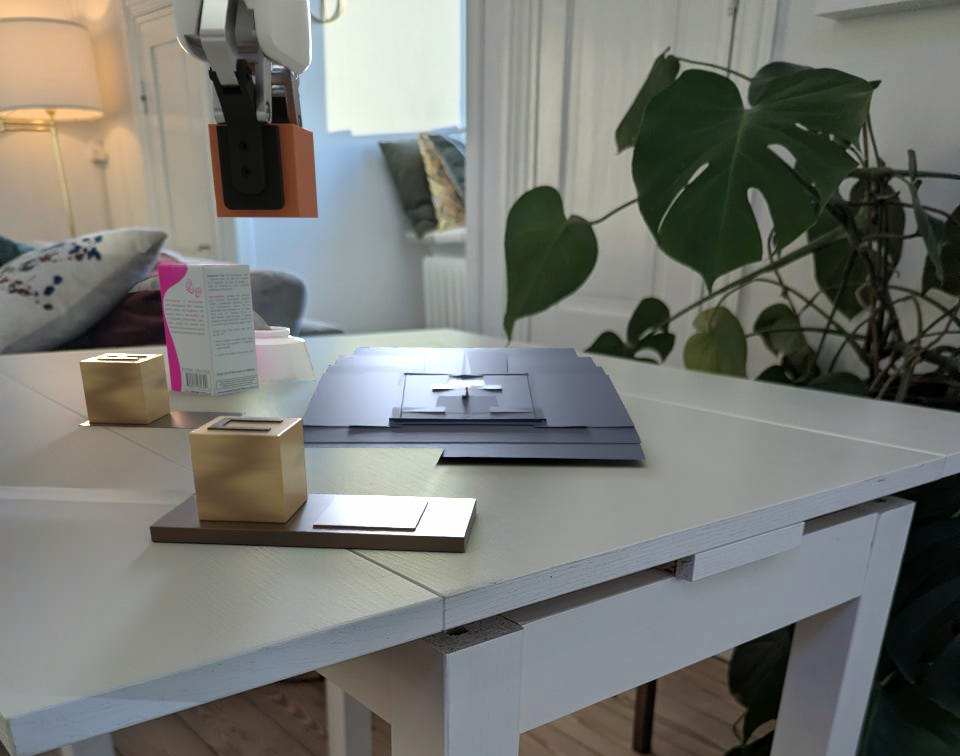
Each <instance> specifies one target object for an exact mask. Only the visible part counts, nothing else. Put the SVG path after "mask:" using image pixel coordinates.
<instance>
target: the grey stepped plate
mask: <svg viewBox="0 0 960 756" xmlns="http://www.w3.org/2000/svg"><path fill="white" fill-rule="evenodd" d="M302 422H303V436H304V449H305V448H307V449H308V448H309V449H310V448H311V449H312V448H313V449H314V448H315V449H317V448H318V449H324V448H325V449H443V450H442V452H441V454H440V456H439V457H440V458H466V457H467V458H469V457H470V458H519V459H520V458H522V459H523V458H527V459H529V458H530V459H576V460H577V459H580V460H581V459H584V460H585V459H586V460H587V459H588V460H634V461H635V460H637V461H639V460H640V461H641V460H642V461H643V460H644V461H645V460H647V458H646V455H645V453H644V450H643V447H642V445H641V444H642V440H641V438H640V436H639V434H638V431H637V429H636V425H635V423H634V422H633V420H632V417H631V415H630V414H629V411H628V410H627V408H626V406H625V404H624V402H623V400H622V399H621V396H620V395H619V393H618V391H617V389H616V387H615V385H614V383H613V381H612V380H611V378H610V376H609V374H607V373H606V372H605V370H604V368H603V366H602V365H601V366H600V365H599V366H597V364H596V363H595V361H594V359H593V358H592V357H591V356H578V354H577V352H576V350H575V348H574V347H404V346H403V347H397V346H394V347H393V346H390V347H389V346H387V347H386V346H355V348H354V351H353V353H352V355H338V357H337V358H336V361H335V363H334V364H329V365H328V366H327V368H326V369H325V372H324V373H322V376H321V378H320V379H319V382H318V384H317V386H316V388H315V390H314V393H313V395H312V397H311V399H310V401H309V404H308V406H307V408H306V410H305V413H304V415H303V417H302Z"/></svg>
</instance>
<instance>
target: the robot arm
mask: <svg viewBox="0 0 960 756" xmlns="http://www.w3.org/2000/svg"><path fill="white" fill-rule="evenodd" d="M171 2H172V3H171V4H172V15H173V24H174V32H175V36H176V39H177V42H178V43H179V46H181V48H182V49H183V50H184V51H185V52H186V53H187V54H188V55H189V56H191V57H192V58H194V60H195V59H196V60H197V61H198V62H201V63H203V64H205V65H208V67H209V68H208V70H207V71H208V77H209V80H210V81H211V85H212V86H211V87H212V110H213V117H214V120H215V124H218V125H227V126H216V130H217V140H218V150H219V160H220V170H221V180H222V190H223V200H224V205H225V206H226V207H227V208H228V209H230V210H280V209H282V208H283V207H284V204H285V200H284V186H283V173H282V160H281V147H280V133H279V126H277V125H270V124H271V123H286V124H294V125H297V126H299V127H302V128H304V125H303V116H302V108H301V100H300V98H301V96H300V91H299V90H300V89H299V88H300V75H302V74H303V73H304V72H306V70H308V68H309V67H310V65H311V62H312V28H311V24H312V23H311V7H310V6H311V5H310V0H171Z"/></svg>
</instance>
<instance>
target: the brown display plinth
mask: <svg viewBox="0 0 960 756" xmlns="http://www.w3.org/2000/svg"><path fill="white" fill-rule="evenodd" d="M302 419H303V417H277V416H276V417H271V416H240V417H239V416H219V417H217V418H215V419H214V420H212V421H210V422H208V423H207V424H205V425H203V426H201V427H200V428H198V429H193V430H192V431H191V432H189V433H188V440H189V451H190V457H191V467H192V474H193V483H194V484H193V485H194V493H193V494H191V495H190V496H189V497H188V498H186V499H185V500H183V501H182V502H180V503H179V504H178V505H176V506H175V507H174V508H173V509H171V510H170V511H168V512H167V513H166V514H165V515H163V516H162V517H160V518H159V519H157V521H155V522H153V523H152V524H151V525H149V533H150V540H151V542H166V543H190V544H191V543H192V544H217V545H218V544H219V545H220V544H221V545H246V544H248V545H247V546H249V545H250V546H251V545H252V546H274V547H275V546H276V547H278V546H280V547H304V548H305V547H307V548H309V547H310V548H335V549H337V548H338V549H360V550H361V549H362V550H363V549H364V550H388V551H389V550H393V551H415V552H416V551H417V552H418V551H421V552H444V553H445V552H447V553H448V552H449V553H465V551H466V548H467V544H468V540H469V537H470V534H471V531H472V528H473V526H474V525H473V524H474V521H475V518H476V515H477V502H478V501H477V499H476V498H457V497H456V498H455V497H426V496H398V495H397V496H396V495H394V496H392V495H391V496H390V495H365V494H364V495H363V494H362V495H361V494H360V495H359V494H332V493H331V494H329V493H328V494H327V493H308V481H307V467H306V466H307V465H306V451H305V448H304V436H303V422H302Z"/></svg>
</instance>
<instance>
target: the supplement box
mask: <svg viewBox="0 0 960 756" xmlns="http://www.w3.org/2000/svg"><path fill="white" fill-rule="evenodd" d="M250 271H251V270H250V264H248V263H247V264H246V263H218V262H217V263H213V262H212V263H211V262H209V263H208V262H204V263H203V262H202V263H201V262H200V263H158V264H157V273H158V276H159V282H160V290H159V291H160V298H161V308H162V318H163V326H164V334H165V343H166V353H167V362H168V371H169V380H170V390H171V391H175V392H180V393H181V392H182V393H189V394H196V395H203V396H212V397H218V396H223V395H227V394H228V395H229V394H233V393H238V392H239V393H240V392H243V391H244V392H245V391H250V390H254V389H255V390H256V389H259V388H260V381H258V369H257V356H256V344H255V332H254V319H253V311H254V306H253V297H252V296H253V295H252V286H251V285H252V283H251V273H250Z"/></svg>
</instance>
